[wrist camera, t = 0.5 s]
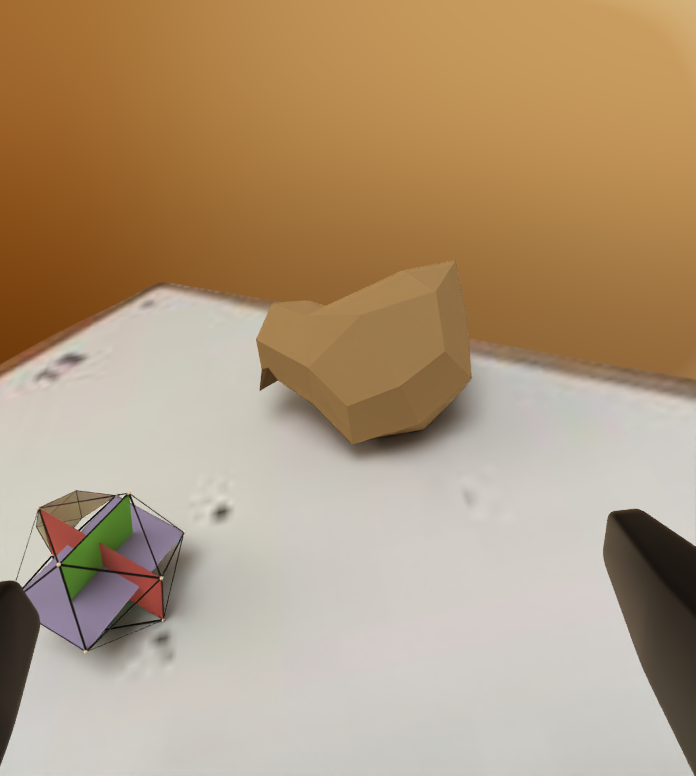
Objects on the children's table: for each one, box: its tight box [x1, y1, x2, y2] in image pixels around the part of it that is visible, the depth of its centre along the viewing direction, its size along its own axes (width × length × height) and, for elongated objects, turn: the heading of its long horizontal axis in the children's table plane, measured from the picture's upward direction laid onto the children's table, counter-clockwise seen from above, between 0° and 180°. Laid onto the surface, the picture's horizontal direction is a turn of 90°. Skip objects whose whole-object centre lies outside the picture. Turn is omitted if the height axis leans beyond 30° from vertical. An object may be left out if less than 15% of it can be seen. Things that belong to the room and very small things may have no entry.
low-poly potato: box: [256, 260, 472, 445], centre depth 36 cm, size 15×11×12 cm
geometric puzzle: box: [15, 490, 185, 654], centre depth 27 cm, size 7×7×8 cm
